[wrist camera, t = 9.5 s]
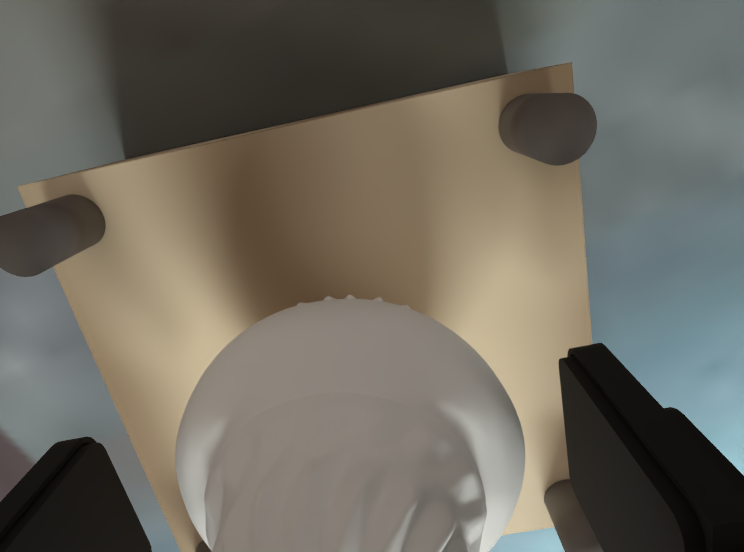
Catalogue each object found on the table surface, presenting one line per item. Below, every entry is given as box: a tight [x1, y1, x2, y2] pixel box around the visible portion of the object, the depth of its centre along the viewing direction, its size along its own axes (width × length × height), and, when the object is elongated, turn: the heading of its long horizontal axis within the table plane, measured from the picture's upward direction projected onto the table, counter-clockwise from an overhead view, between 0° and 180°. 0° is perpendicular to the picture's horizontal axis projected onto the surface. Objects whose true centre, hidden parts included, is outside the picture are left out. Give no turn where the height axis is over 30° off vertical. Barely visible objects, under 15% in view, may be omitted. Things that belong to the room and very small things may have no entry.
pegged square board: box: [0, 63, 604, 552], centre depth 14 cm, size 12×12×7 cm
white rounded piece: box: [175, 295, 525, 552], centre depth 9 cm, size 6×6×7 cm
